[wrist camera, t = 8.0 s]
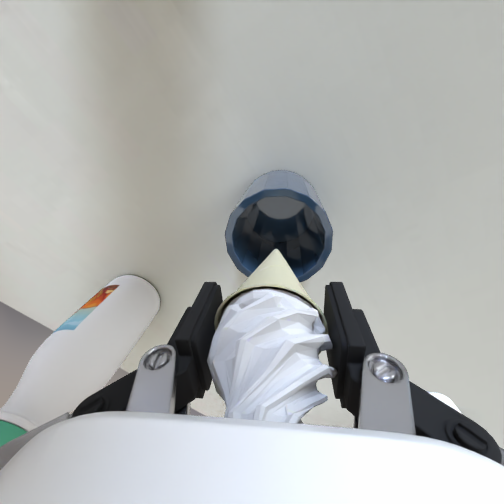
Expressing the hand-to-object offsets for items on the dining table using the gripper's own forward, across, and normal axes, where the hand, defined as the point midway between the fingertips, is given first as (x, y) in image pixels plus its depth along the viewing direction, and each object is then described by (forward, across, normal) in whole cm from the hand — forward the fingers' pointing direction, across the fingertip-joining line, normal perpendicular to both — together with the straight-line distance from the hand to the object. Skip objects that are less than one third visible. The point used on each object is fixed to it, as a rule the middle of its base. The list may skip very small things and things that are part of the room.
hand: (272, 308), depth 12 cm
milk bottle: (+17, +21, +12) cm, 30 cm away
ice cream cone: (+7, 0, 0) cm, 7 cm away
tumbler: (+17, 0, 0) cm, 17 cm away
